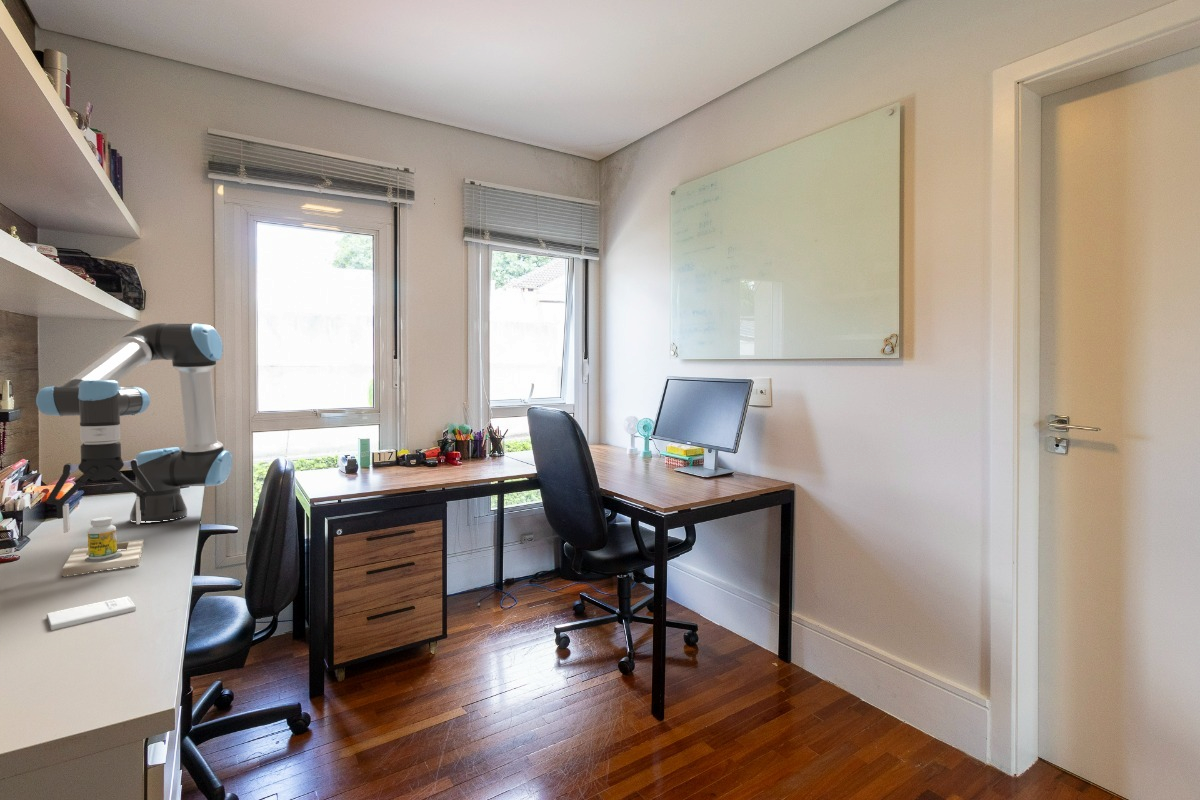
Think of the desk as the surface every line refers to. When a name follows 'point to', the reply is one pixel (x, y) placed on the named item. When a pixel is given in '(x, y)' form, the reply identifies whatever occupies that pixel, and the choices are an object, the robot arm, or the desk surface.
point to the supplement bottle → (102, 539)
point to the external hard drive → (90, 612)
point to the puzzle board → (123, 558)
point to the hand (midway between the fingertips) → (103, 527)
